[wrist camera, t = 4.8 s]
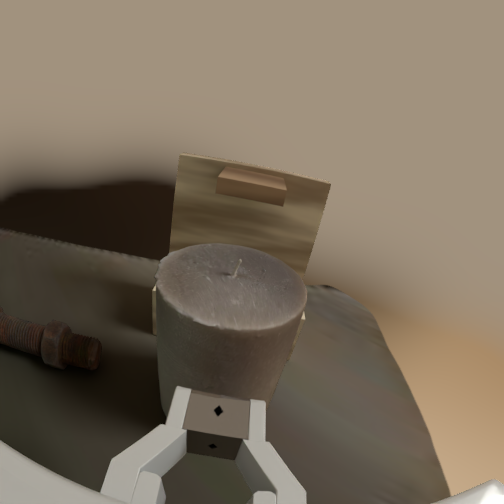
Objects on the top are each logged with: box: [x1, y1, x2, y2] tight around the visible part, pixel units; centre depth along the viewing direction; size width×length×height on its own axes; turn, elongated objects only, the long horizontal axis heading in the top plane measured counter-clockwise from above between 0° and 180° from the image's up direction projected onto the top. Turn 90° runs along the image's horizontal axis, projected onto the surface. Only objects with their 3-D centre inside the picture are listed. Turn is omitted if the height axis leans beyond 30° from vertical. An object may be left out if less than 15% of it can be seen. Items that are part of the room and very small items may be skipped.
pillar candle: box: [154, 243, 307, 417], centre depth 21 cm, size 10×10×15 cm
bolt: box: [0, 306, 102, 371], centre depth 22 cm, size 6×5×15 cm
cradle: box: [152, 153, 331, 360], centre depth 31 cm, size 9×16×18 cm, turn 87°
